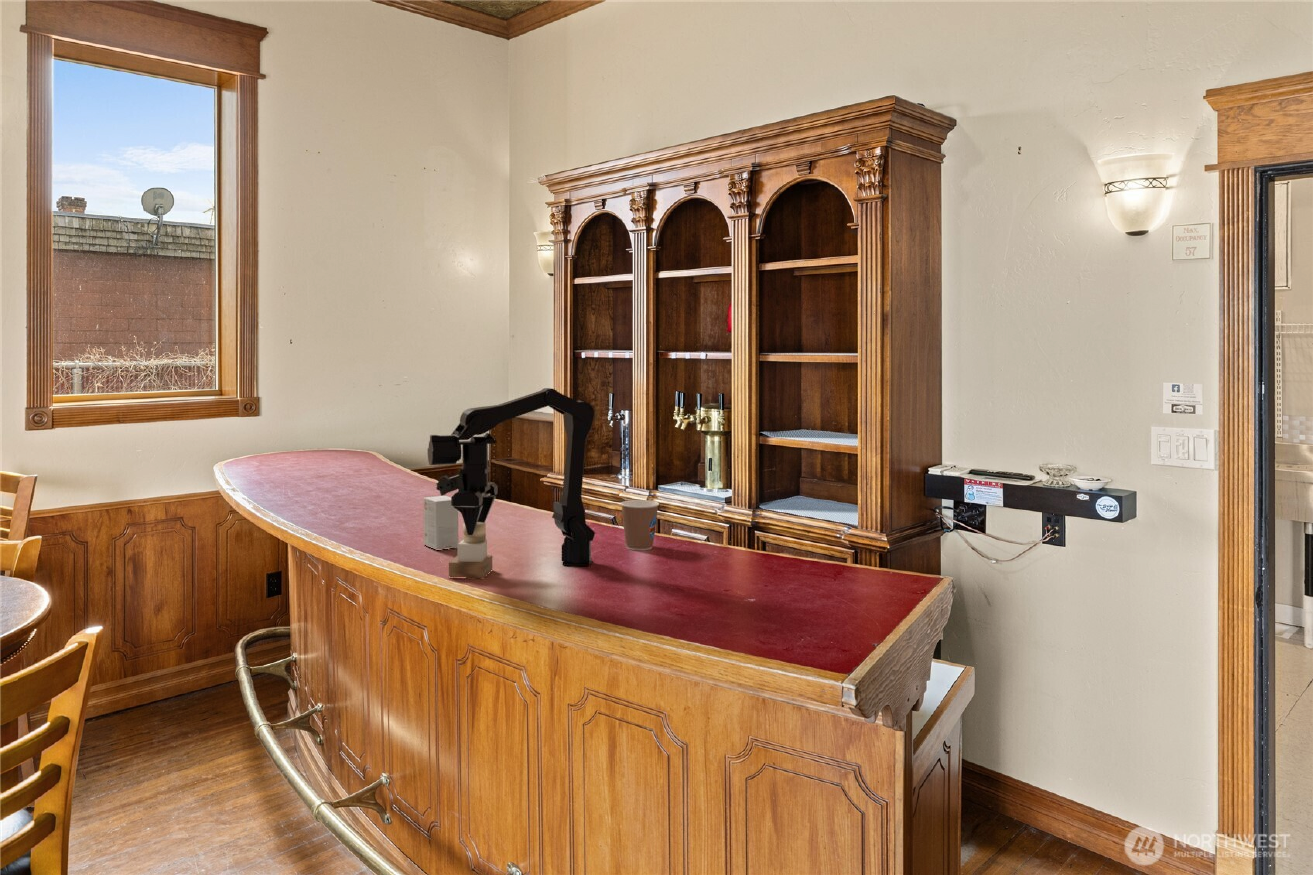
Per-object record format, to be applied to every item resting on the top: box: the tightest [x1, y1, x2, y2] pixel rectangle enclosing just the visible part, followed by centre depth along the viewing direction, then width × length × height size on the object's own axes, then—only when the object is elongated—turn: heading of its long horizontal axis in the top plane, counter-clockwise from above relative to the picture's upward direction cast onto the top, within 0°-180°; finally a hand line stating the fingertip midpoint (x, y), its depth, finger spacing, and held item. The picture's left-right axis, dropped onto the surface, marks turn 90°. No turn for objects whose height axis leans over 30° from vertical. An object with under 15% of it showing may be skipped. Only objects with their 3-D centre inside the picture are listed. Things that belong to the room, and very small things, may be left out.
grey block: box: [456, 538, 488, 562], centre depth 192 cm, size 6×6×4 cm
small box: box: [423, 495, 459, 549], centre depth 219 cm, size 8×6×13 cm
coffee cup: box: [620, 499, 660, 551], centre depth 222 cm, size 10×10×12 cm
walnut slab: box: [448, 554, 493, 579], centre depth 192 cm, size 8×8×4 cm
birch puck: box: [462, 522, 487, 543], centre depth 192 cm, size 5×5×4 cm
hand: (475, 530), depth 192 cm, fingers open, 9 cm apart
